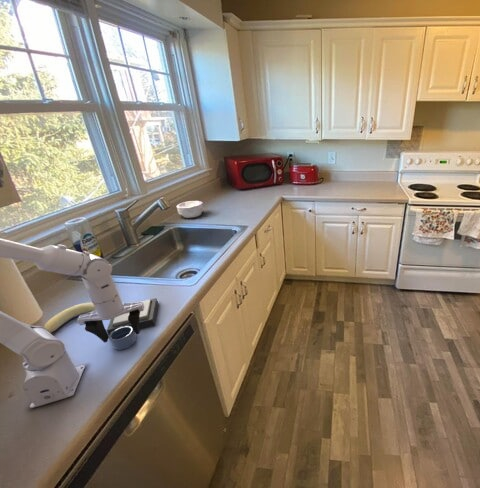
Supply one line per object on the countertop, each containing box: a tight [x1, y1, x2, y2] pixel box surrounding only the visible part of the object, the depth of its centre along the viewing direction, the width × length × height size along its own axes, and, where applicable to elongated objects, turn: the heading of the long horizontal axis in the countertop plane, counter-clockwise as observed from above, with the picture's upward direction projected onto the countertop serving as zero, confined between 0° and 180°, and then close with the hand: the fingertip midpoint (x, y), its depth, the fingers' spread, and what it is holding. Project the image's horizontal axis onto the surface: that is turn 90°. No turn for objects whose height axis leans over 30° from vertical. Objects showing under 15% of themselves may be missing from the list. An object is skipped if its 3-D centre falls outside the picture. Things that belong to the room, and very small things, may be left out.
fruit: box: [43, 301, 96, 334], centre depth 90 cm, size 7×15×3 cm, turn 145°
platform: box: [113, 299, 151, 326], centre depth 89 cm, size 9×9×1 cm
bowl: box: [108, 326, 137, 351], centre depth 80 cm, size 6×6×4 cm
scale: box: [106, 297, 159, 336], centre depth 90 cm, size 12×12×2 cm
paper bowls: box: [176, 200, 205, 219], centre depth 176 cm, size 15×15×8 cm
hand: (122, 335), depth 79 cm, fingers open, 7 cm apart
